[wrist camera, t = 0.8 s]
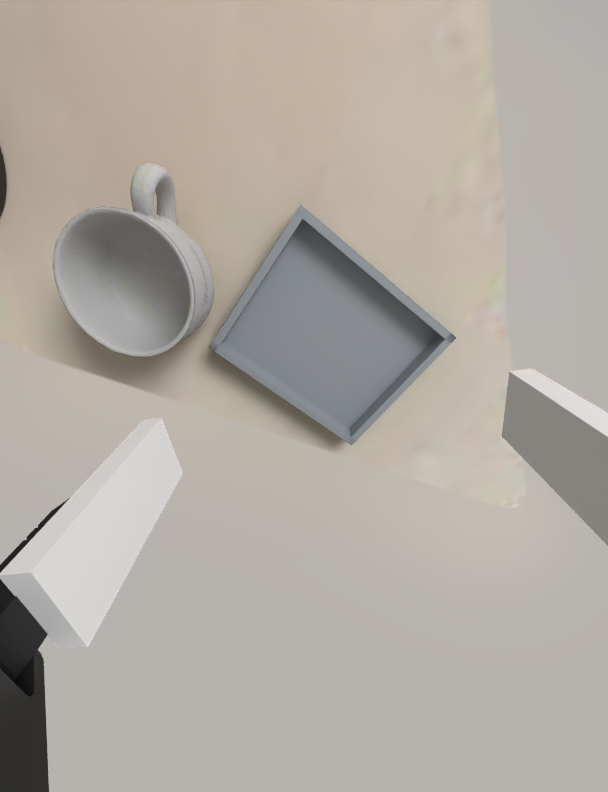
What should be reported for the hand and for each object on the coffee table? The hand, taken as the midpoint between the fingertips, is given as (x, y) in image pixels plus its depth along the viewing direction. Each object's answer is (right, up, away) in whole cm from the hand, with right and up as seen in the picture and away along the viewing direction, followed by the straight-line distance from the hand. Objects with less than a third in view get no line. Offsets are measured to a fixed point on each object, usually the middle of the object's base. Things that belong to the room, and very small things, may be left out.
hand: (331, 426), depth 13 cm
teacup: (-13, +14, +19) cm, 27 cm away
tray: (+1, +7, +21) cm, 22 cm away
